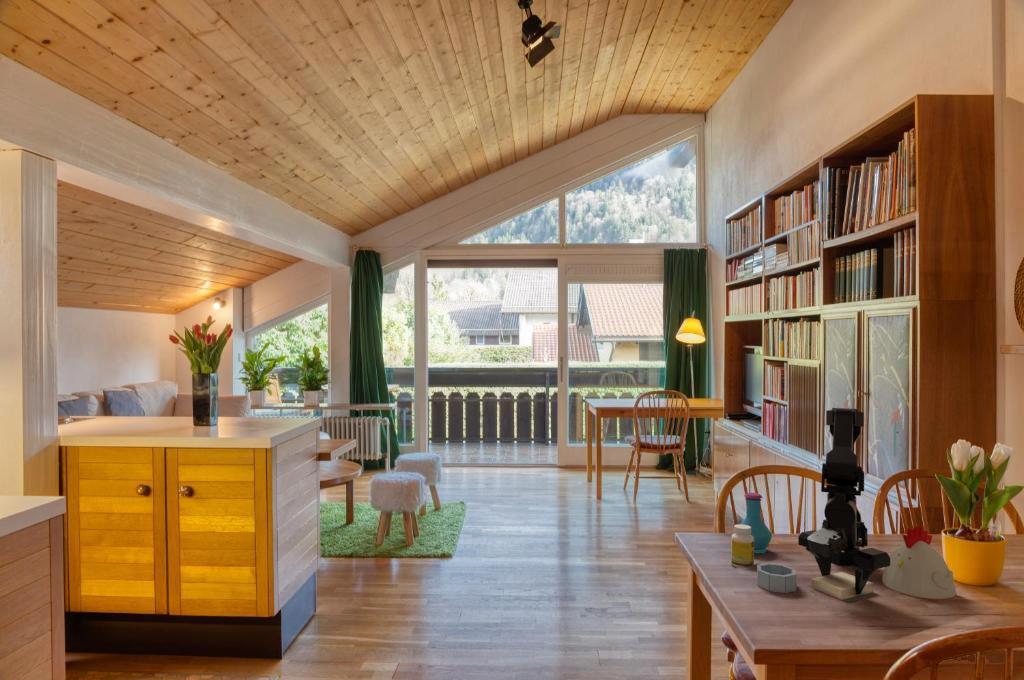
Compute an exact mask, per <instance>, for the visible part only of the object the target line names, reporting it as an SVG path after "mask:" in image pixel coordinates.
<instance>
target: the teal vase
mask: <svg viewBox="0 0 1024 680" xmlns="http://www.w3.org/2000/svg"><path fill="white" fill-rule="evenodd" d="M744 497H745V502H746V505H745V506H746V510H745V511H746V512H745V513H746V516H745V517H744V519H743V520H742V521H741V523H740V524H742V525H748V526H750V527H751V534H750V535H751V536H753V538H754V553H762V554H765V553H764V552H766V551H767V548H768V547H769V544H770V542H771V539H772V531H770V529H769V528H768V526H767V525H766V524H765V522H764V520H763V519H762V518H761V501H762V498H763V496H762V495H761V493H758V492H757V493H756V492H747V493H745V494H744ZM766 553H767V552H766Z"/></svg>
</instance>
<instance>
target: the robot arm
mask: <svg viewBox="0 0 1024 680" xmlns="http://www.w3.org/2000/svg"><path fill="white" fill-rule="evenodd" d="M825 412H826V413H825V417H826V418H825V420H826V421H825V425H826V426H829V432H830V435H831V436H832V438H833V439H832V449H831V450H830V451H828V452H827V453H826V455H825V463H824V462H822V463H821V464H822V465H821V484H820V485H821V487H820V488H821V489H820V492H821V493H827V494H826V495H827V496H826V499H827V500H826V504H825V506H824V509H823V510H824V511H823V513H824V518H825V519H823V520H822V523H821V524H822V525H821V529H817V530H816V529H813V530H807V531H802V532H800V533H799V535H798V537H797V538H798V539H797V541H798V542H797V544H798V545H799V546H801V547H804V548H805V551H806V552H809V553H810V554H811V555H812V556H813V557H814V559H815V561H816V563H817V566H818V568H819V571H820V574H821V576H825V575H829V574H831V570H832V564H833V565H836V566H847V567H848V566H850V567H852V568H853V570H854V576H855V590H856V594H861V592H862V590H863V589H864V587H865V585H866V583H867V581H869V579H870V578H871V576H872V574H873V573H874V572H875V571H876V570H878V569H879V570H880V569H884V568H885V567H888V566H890V556H891V555H890V554H888V552H887V551H883V550H881V549H877V548H874V547H868V544H869V543H868V542H869V540H868V537H869V536H868V528H867V527H866V525H865V522H864V521H862V514H861V511H859V509H858V507H857V496H859V497H861V496H862V492H865V471H864V470H863V467H862V466H861V465H858V464H859V463H858V462H859V461H858V457H859V456H858V454H856V453H855V444H856V442H857V441H858V439H859V437H860V436H861V435H862V428H865V412H863V411H859V408H850V407H849V408H845V407H843V408H842V407H832V408H831V409H829V410H826V411H825ZM825 484H826V485H825ZM857 489H858V490H857ZM860 547H861V548H863V549H860ZM865 547H868V548H865ZM889 555H890V556H889Z"/></svg>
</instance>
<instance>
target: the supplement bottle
mask: <svg viewBox="0 0 1024 680" xmlns="http://www.w3.org/2000/svg"><path fill="white" fill-rule="evenodd" d="M733 530H734V533H732V534H731V538H730V539H731V540H730V541H731V542H730V543H731V544H730V545H731V546H730V551H731V552H730V555H731V556H730V557H731V558H730V563H731V565H732V566H733V567H734V568H738V569H740V568H745V567H750V566H754V565H755V554H754V538H753V536H751V535H750V534H751V527H750V526H748V525H742V524H741V523H740V524H734V528H733Z"/></svg>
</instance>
